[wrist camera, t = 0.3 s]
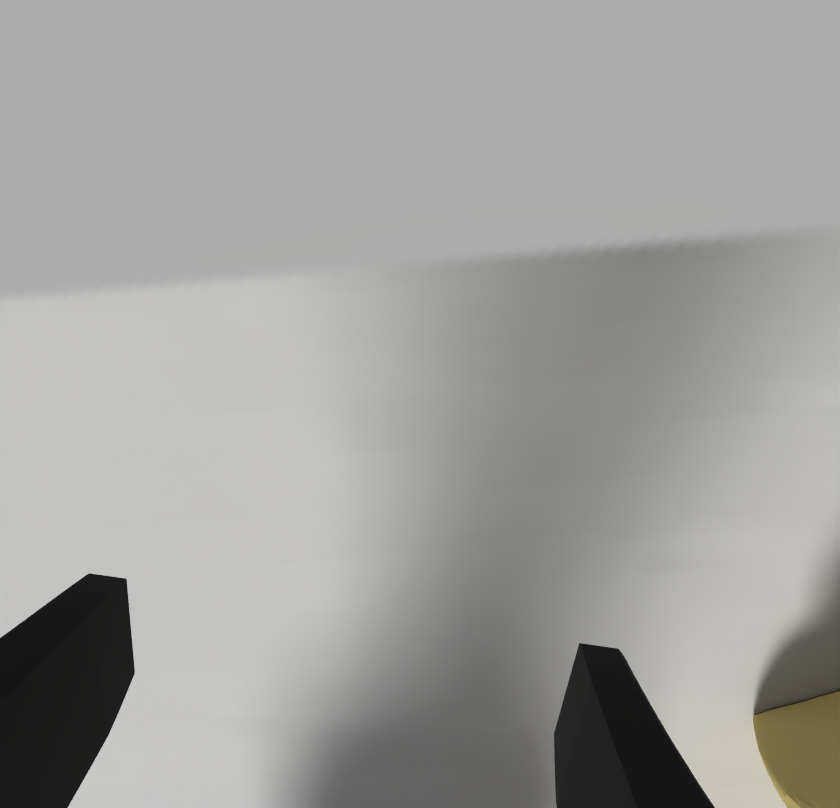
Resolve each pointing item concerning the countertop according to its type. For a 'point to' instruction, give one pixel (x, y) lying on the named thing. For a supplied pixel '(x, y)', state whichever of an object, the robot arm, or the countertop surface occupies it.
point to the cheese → (803, 751)
